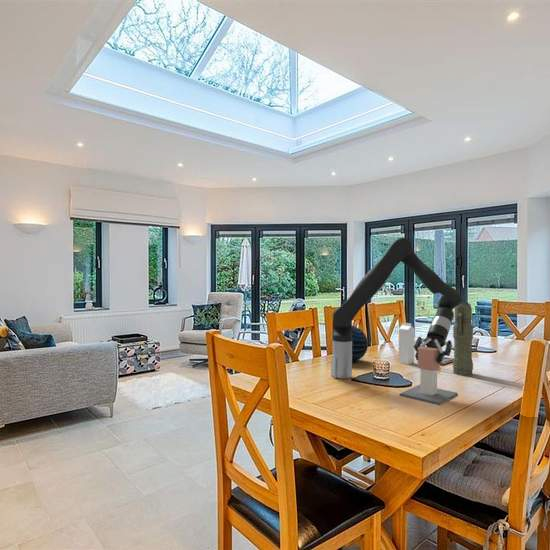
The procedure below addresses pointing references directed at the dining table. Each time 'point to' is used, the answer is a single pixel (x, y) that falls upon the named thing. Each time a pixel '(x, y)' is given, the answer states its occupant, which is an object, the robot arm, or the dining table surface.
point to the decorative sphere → (357, 343)
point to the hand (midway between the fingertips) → (427, 360)
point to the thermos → (463, 340)
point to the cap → (428, 358)
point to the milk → (406, 343)
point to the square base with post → (428, 389)
